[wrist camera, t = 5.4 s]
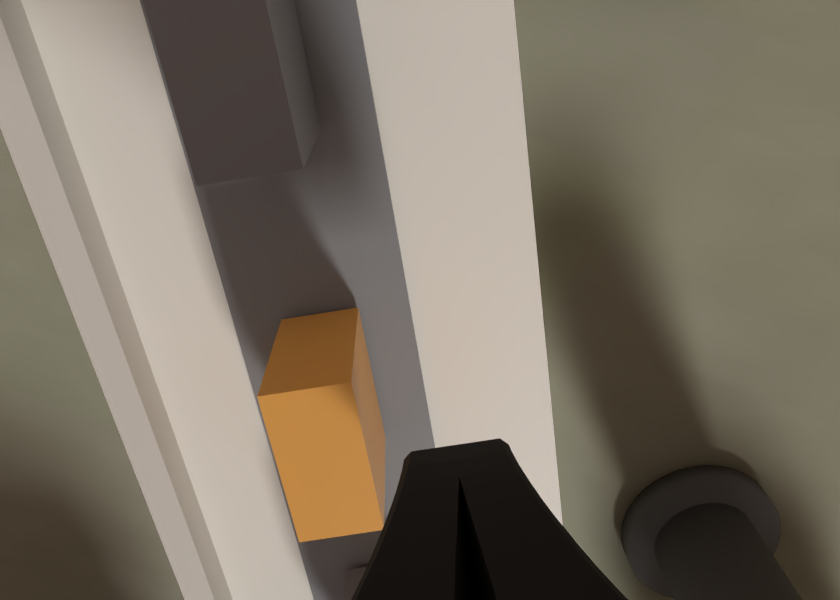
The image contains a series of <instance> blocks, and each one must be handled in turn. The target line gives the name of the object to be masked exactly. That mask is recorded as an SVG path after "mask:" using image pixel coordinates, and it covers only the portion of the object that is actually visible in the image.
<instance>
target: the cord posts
mask: <svg viewBox="0 0 840 600" xmlns="http://www.w3.org/2000/svg"><path fill="white" fill-rule="evenodd" d="M780 532H781V526H780V519H779V515H778V513H777V510H776V508H775V507H774V505H773V503H772V502H771V501H770V499H769V498H768V496H767V495H766V494H765V492H764V491H763V489H762V488H761V487H760V486H759V485H758V484H757V482H756V481H754V480H753V479H752V478H750V477H749V476H747V475H746V474H744V473H742V472H739V471H737V470H734V469H731V468H727V467H720V466H698V467H692V468H687V469H683V470H680V471H677V472H674V473H672V474H669V475H667V476H665V477H663V478H661V479H659V480H658V481H656V482H655V483H653V484H652V485H650V486H649V487H648V488H646V489H645V490H644V491H643V492H642V493H641V494H640V495H639V496H638V497H637V498H636V499H635V501H634V502H633V503H632V505H631V506H630V508H629V510H628V512H627V514H626V516H625V519H624V521H623V526H622V544H623V547H624V551H625V553H626V556H627V558H628V561H629V563H630V566H631V568H632V570H633V572H634V574H635V575H636V576H637V578H638V579H639V580H640V581H641V582H642V583H643V584H644V585H645V586H647V587H648V588H650V589H651V590H653V591H655V592H657V593H659V594H662V595H665V596H669V597H673V598H674V599H675V600H802V599H801V597H800V596H799V594H798V593H797V591H796V590H795V588H794V587H793V585H792V583H791V582H790V580H789V579H788V577H787V576H786V574H785V573H784V571H783V570H782V568H781V567H780V565H779V564H778V562H777V561H776V559H775V557H774V556H773V554H774V552H775V550H776V548H777V545H778V542H779V539H780Z"/></svg>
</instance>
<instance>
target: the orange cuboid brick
mask: <svg viewBox="0 0 840 600" xmlns="http://www.w3.org/2000/svg"><path fill="white" fill-rule="evenodd" d="M257 398H258V402H259V405H260V409H261V412H262V416H263V419H264V422H265V426H266V429H267V433H268V436H269V440H270V443H271V447H272V450H273V454H274V457H275V460H276V464H277V467H278V471H279V474H280V478H281V481H282V485H283V488H284V492H285V495H286V498H287V502H288V505H289V509H290V512H291V516H292V519H293V523H294V526H295V530H296V533H297V537H298V540H299V542H305V541H312V540H319V539H326V538H332V537H339V536H346V535H353V534H360V533H367V532H373V531H380V530H382V529H383V527H384V512H385V432H384V427H383V423H382V418H381V413H380V408H379V403H378V399H377V394H376V389H375V384H374V379H373V375H372V370H371V365H370V360H369V356H368V351H367V346H366V341H365V336H364V332H363V327H362V322H361V317H360V312H359V308H352V309H345V310H339V311H332V312H326V313H320V314H313V315H307V316H300V317H294V318H288V319H281V322H280V325H279V329H278V332H277V335H276V338H275V341H274V344H273V348H272V351H271V354H270V357H269V360H268V363H267V367H266V370H265V373H264V376H263V379H262V383H261V386H260V389H259V392H258V395H257Z"/></svg>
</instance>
